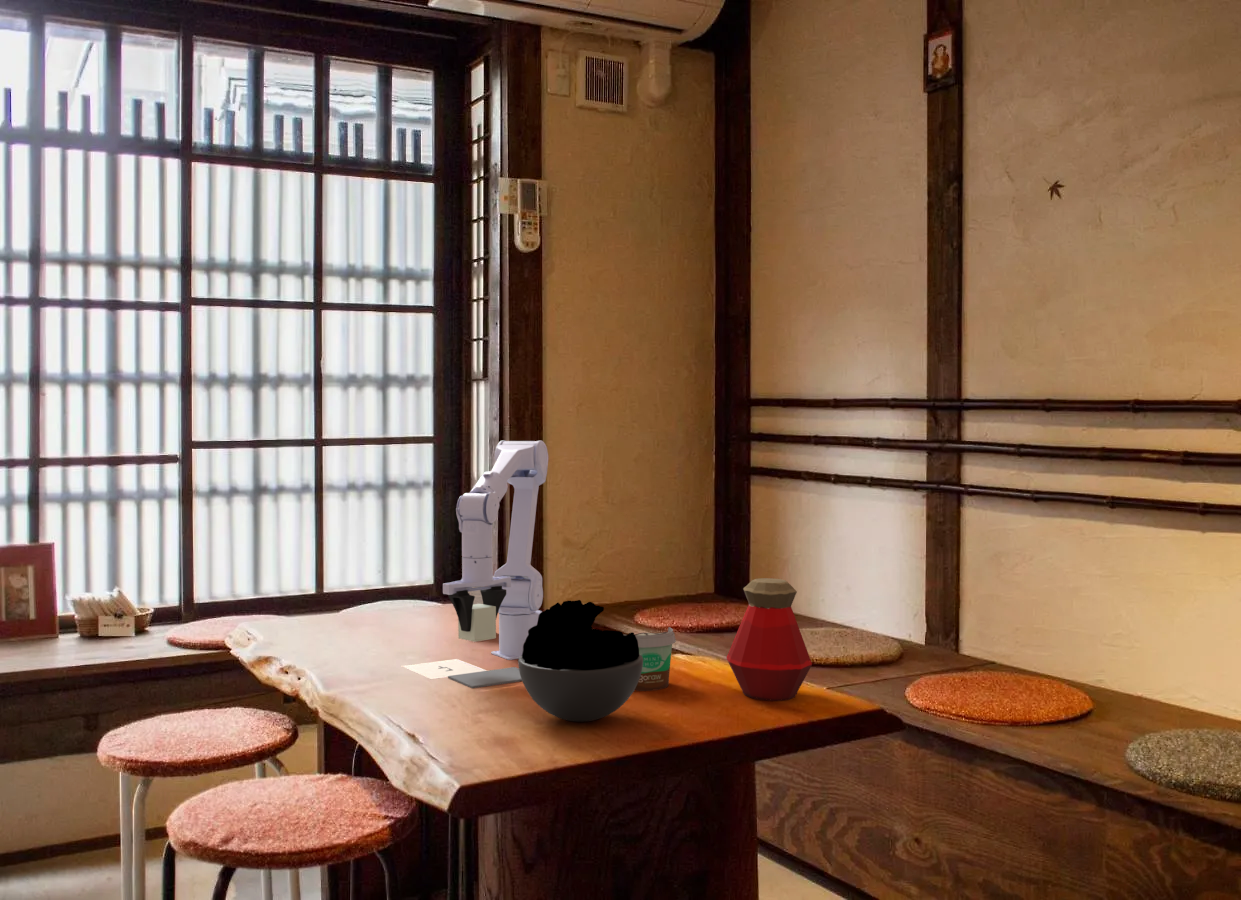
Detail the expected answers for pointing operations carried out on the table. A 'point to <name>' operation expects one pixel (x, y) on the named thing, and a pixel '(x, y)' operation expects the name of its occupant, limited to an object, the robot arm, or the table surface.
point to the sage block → (480, 624)
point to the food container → (655, 659)
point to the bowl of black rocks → (578, 663)
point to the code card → (443, 668)
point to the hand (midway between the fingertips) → (477, 629)
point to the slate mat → (488, 677)
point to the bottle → (769, 643)
